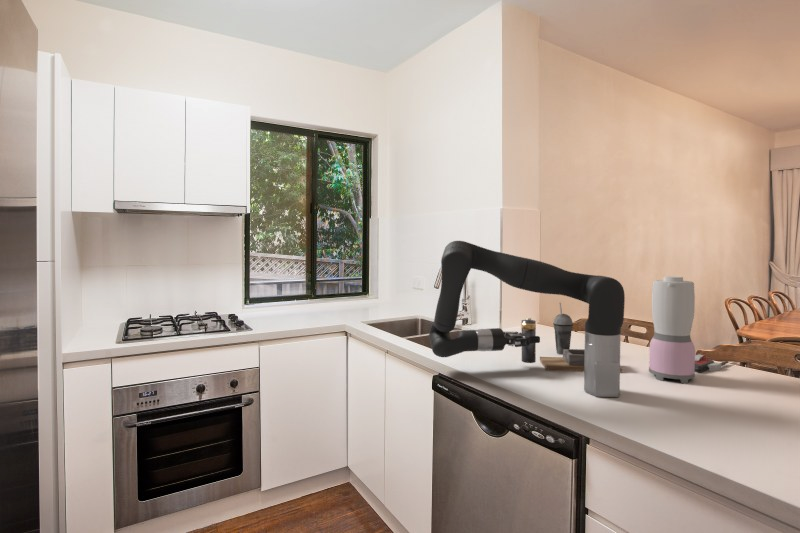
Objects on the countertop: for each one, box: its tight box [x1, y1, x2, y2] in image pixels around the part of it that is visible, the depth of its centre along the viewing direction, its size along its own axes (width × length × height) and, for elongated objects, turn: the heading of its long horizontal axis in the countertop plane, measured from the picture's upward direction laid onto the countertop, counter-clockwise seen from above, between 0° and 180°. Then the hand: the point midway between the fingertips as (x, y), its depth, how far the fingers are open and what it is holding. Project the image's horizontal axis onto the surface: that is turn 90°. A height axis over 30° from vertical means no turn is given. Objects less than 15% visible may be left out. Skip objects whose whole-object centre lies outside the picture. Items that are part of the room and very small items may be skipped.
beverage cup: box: [553, 302, 574, 356], centre depth 163 cm, size 7×7×20 cm
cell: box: [520, 317, 537, 364], centre depth 144 cm, size 5×5×15 cm
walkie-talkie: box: [694, 353, 729, 374], centre depth 144 cm, size 9×4×20 cm
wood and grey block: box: [539, 348, 623, 374], centre depth 145 cm, size 12×24×8 cm, turn 82°
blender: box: [648, 275, 696, 384], centre depth 134 cm, size 16×12×32 cm
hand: (535, 337), depth 144 cm, fingers closed on cell, 4 cm apart
